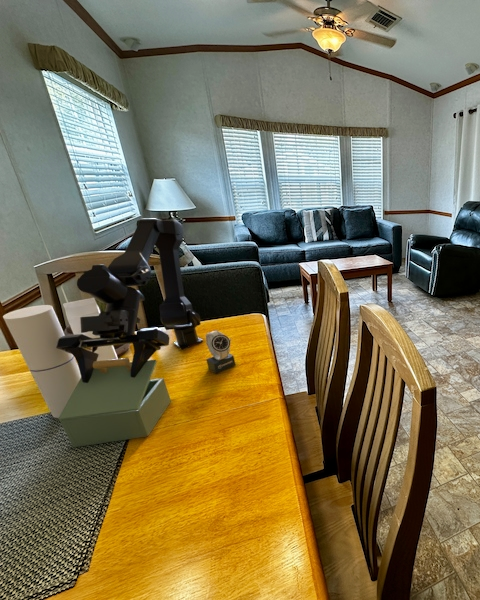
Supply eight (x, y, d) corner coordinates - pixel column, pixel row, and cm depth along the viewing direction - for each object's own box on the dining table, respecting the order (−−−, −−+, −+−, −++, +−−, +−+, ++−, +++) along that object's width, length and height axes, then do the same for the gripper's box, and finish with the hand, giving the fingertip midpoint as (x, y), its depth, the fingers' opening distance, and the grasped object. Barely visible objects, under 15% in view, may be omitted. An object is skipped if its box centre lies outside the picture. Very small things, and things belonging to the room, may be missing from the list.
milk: (122, 374, 90) (95, 300, 82) (93, 383, 87) (61, 307, 78) (120, 365, 95) (94, 294, 86) (93, 373, 91) (62, 300, 83)
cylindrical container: (68, 419, 74) (20, 320, 65) (43, 415, 75) (-7, 317, 66) (100, 399, 80) (61, 306, 71) (77, 396, 82) (36, 304, 72)
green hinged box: (107, 409, 77) (97, 385, 74) (171, 401, 80) (163, 377, 77) (72, 447, 66) (59, 421, 64) (148, 436, 69) (138, 410, 67)
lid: (88, 368, 72) (76, 357, 69) (157, 361, 75) (148, 349, 72) (60, 420, 64) (45, 410, 61) (138, 410, 67) (128, 399, 64)
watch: (219, 376, 89) (210, 341, 85) (205, 366, 94) (196, 332, 89) (239, 367, 93) (231, 332, 89) (225, 358, 98) (217, 325, 94)
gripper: (43, 300, 66) (21, 378, 60) (148, 293, 69) (137, 366, 63) (84, 320, 76) (68, 388, 70) (173, 312, 79) (166, 377, 73)
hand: (109, 379), depth 69 cm, fingers open, 8 cm apart
